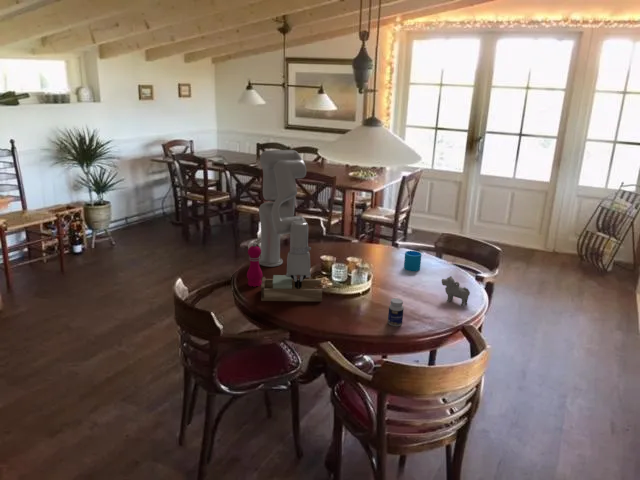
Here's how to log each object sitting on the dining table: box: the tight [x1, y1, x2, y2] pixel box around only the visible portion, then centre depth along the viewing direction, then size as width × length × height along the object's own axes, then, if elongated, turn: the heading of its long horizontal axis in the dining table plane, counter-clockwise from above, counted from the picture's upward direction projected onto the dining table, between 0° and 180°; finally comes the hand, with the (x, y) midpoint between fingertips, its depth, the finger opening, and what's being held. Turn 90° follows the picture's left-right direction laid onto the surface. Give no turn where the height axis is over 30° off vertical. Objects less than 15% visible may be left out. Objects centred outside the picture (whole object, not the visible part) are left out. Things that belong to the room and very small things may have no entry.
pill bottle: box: [387, 297, 404, 327], centre depth 207 cm, size 6×6×10 cm
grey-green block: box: [272, 274, 292, 289], centre depth 230 cm, size 9×8×6 cm
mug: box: [403, 250, 422, 272], centre depth 267 cm, size 12×8×8 cm
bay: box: [260, 276, 323, 302], centre depth 230 cm, size 12×26×6 cm, turn 93°
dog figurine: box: [441, 276, 471, 307], centre depth 229 cm, size 5×13×11 cm, turn 54°
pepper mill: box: [246, 242, 264, 288], centre depth 239 cm, size 7×7×20 cm
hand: (298, 288), depth 231 cm, fingers closed
